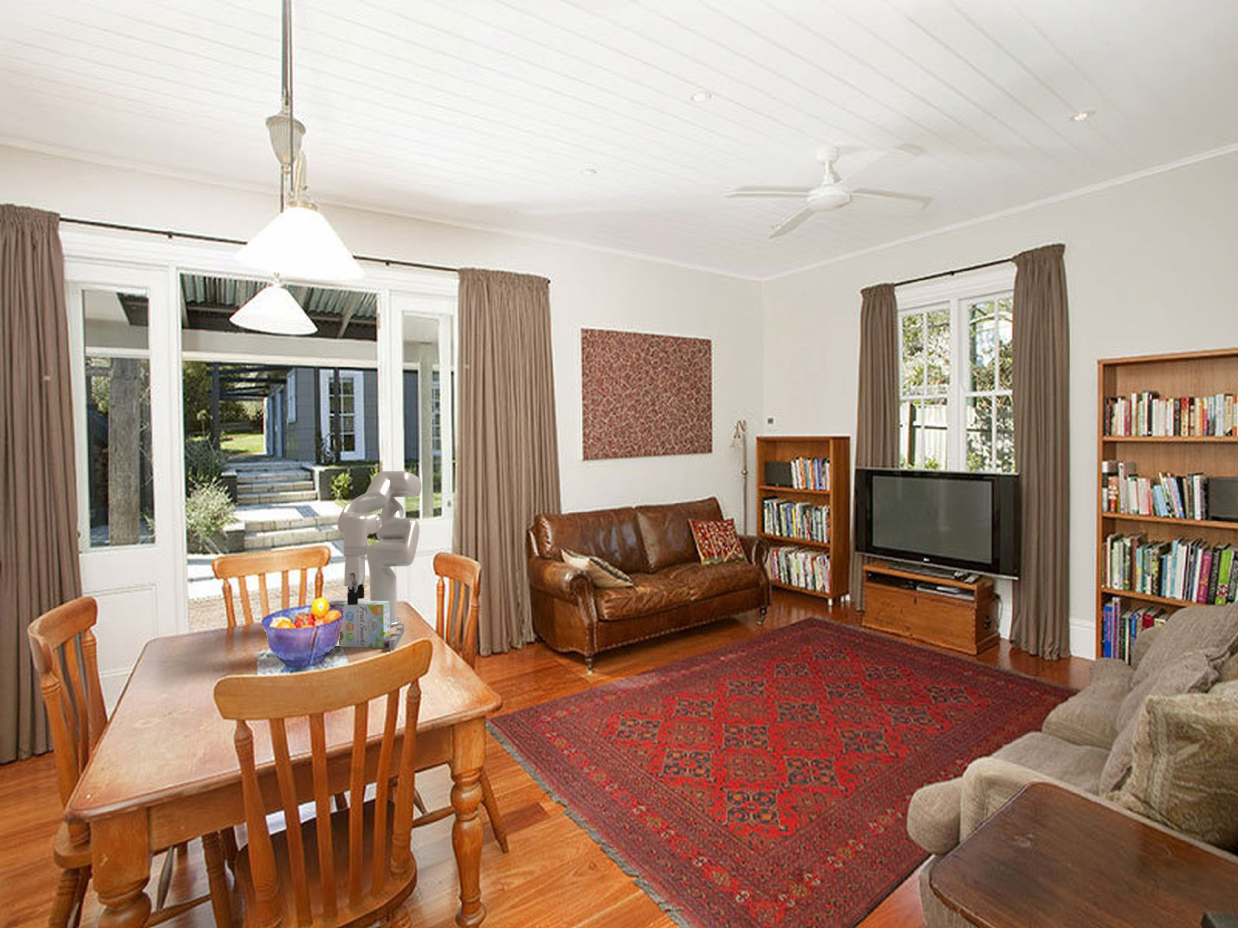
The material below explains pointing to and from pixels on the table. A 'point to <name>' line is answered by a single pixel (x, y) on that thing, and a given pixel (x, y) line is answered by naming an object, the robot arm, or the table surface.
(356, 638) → the snack box
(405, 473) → the robot arm
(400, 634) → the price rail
